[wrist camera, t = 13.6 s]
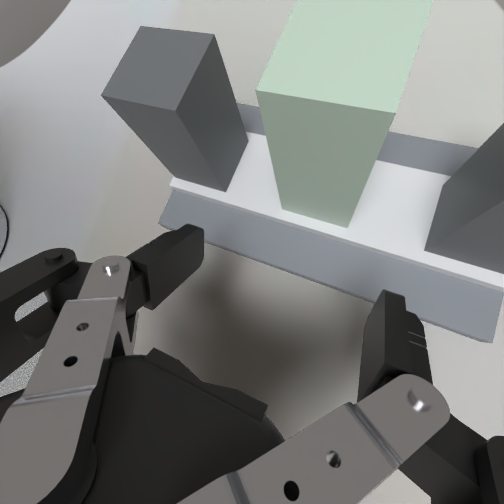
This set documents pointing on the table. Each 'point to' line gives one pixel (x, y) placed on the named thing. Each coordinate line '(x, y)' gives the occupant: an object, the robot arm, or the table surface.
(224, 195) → the rail board
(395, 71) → the block
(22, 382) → the table surface
